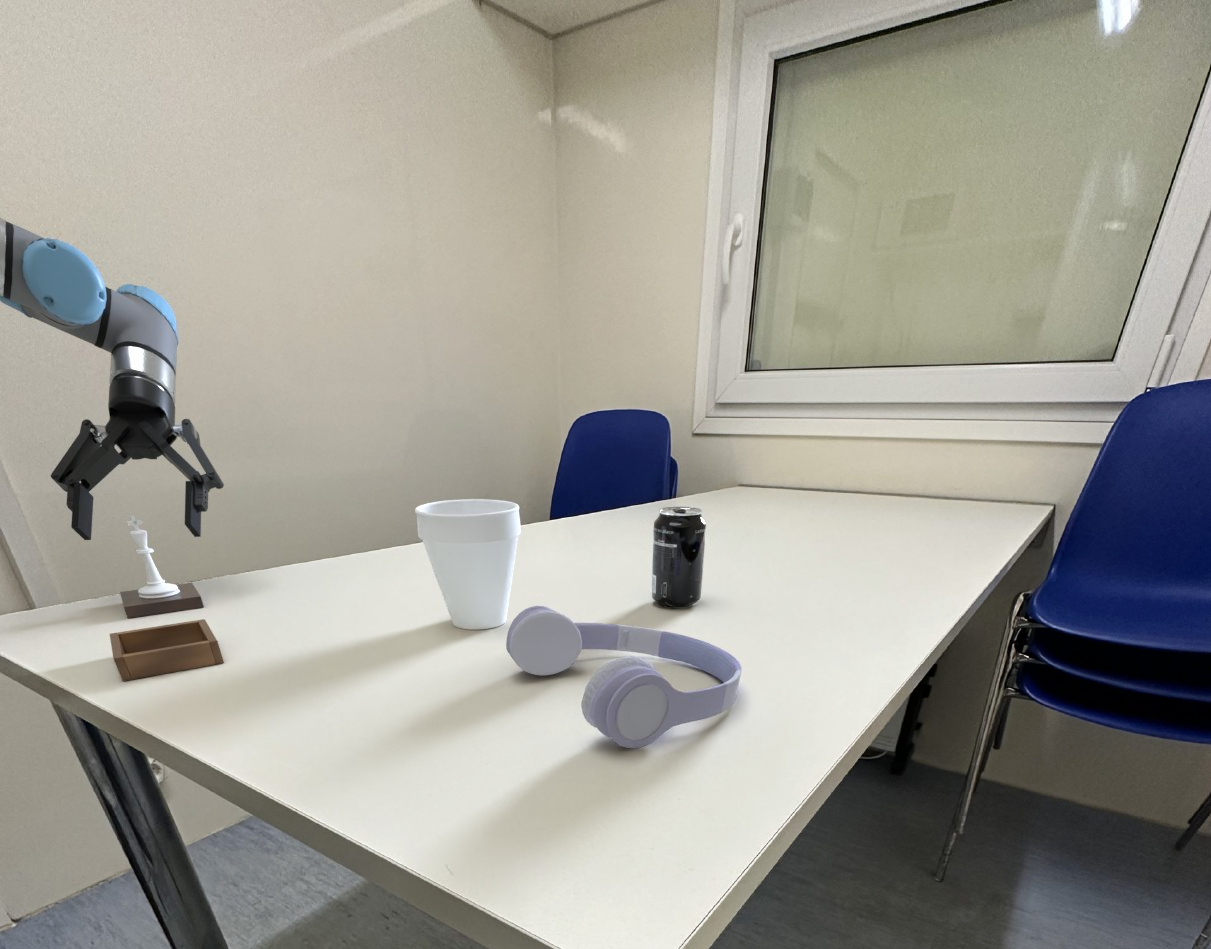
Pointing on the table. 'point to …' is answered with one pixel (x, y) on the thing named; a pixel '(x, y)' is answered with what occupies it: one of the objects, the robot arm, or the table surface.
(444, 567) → the cup
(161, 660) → the oak box
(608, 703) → the headphones
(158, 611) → the walnut stand
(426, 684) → the table surface
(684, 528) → the beverage can
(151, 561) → the chess piece
